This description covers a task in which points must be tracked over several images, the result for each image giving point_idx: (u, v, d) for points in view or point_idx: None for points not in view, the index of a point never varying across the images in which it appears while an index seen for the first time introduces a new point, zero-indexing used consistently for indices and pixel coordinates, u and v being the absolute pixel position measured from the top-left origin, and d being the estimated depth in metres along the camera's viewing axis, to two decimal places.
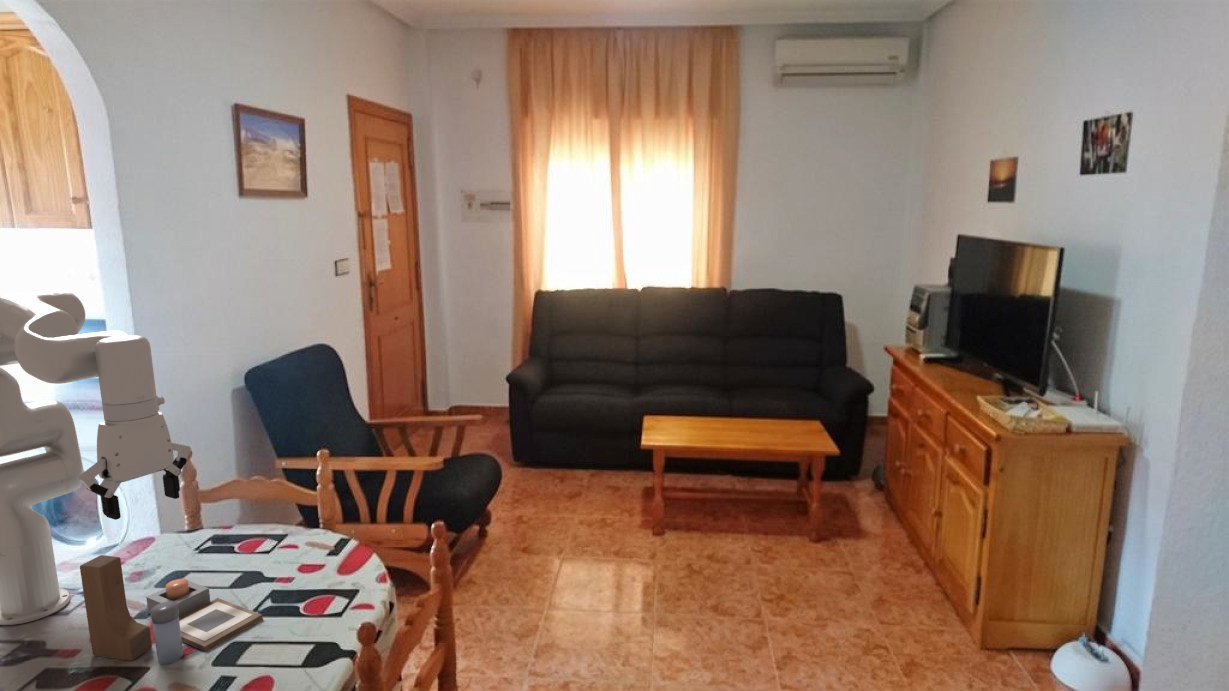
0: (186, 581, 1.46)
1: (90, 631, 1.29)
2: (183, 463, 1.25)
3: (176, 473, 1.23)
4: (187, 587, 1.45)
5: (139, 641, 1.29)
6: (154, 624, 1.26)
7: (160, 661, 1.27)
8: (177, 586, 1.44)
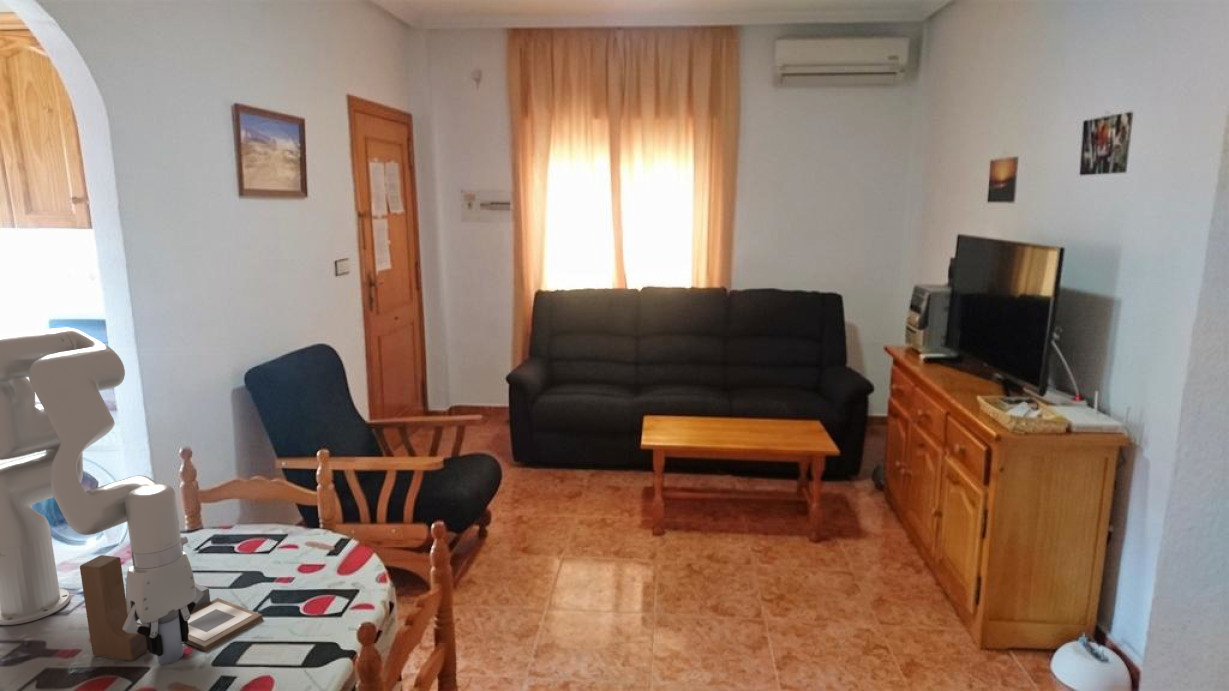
0: None
1: (90, 631, 1.29)
2: (192, 607, 1.31)
3: (185, 618, 1.30)
4: None
5: (139, 641, 1.29)
6: None
7: (160, 661, 1.27)
8: None
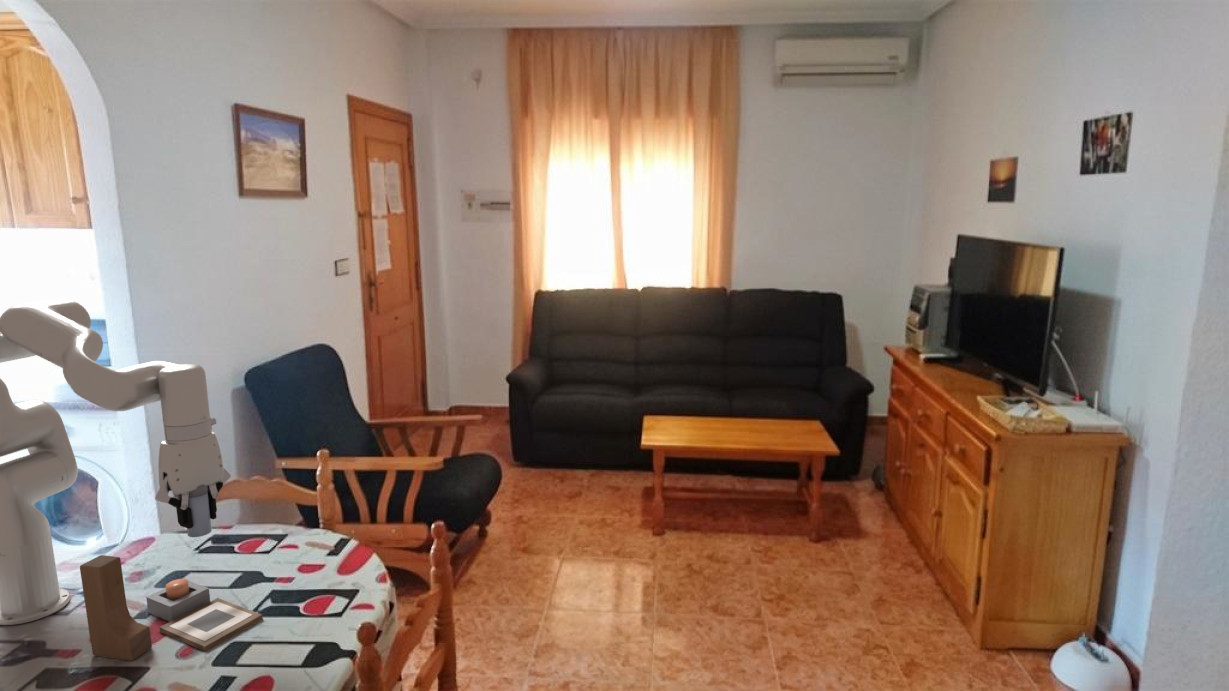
0: (186, 581, 1.46)
1: (90, 631, 1.29)
2: (220, 487, 1.38)
3: (214, 496, 1.36)
4: (187, 587, 1.45)
5: (139, 641, 1.29)
6: None
7: (190, 534, 1.34)
8: (177, 586, 1.44)
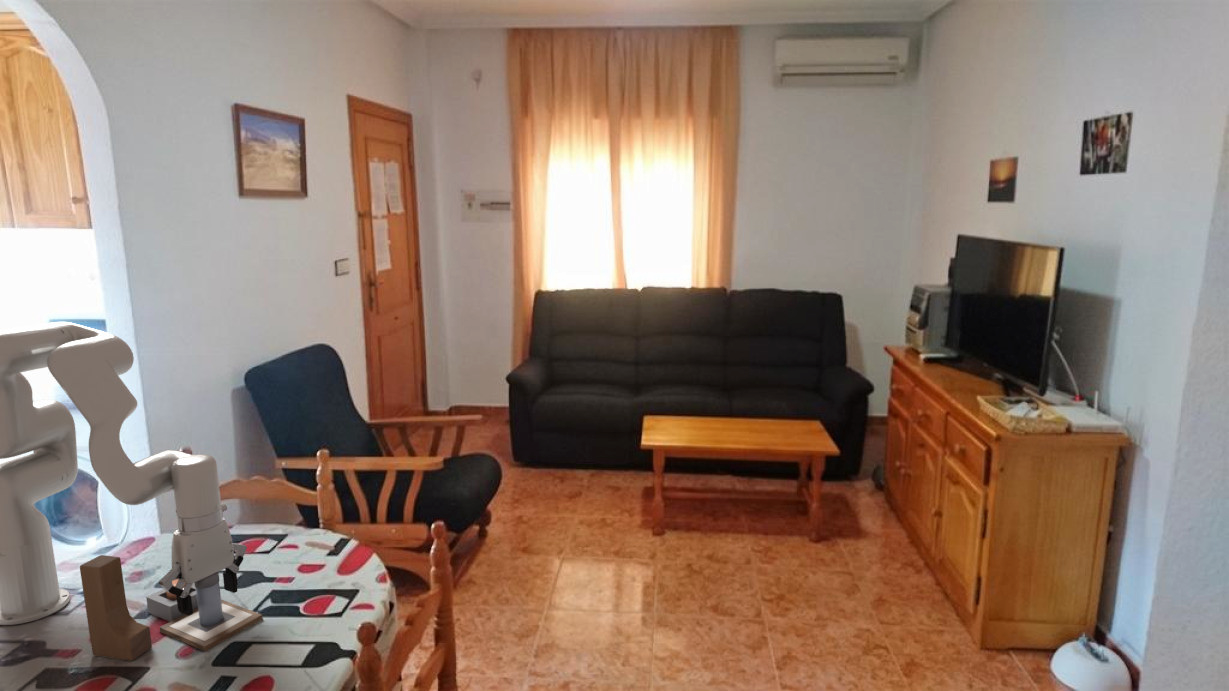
0: None
1: (90, 631, 1.29)
2: (240, 561, 1.43)
3: (235, 570, 1.42)
4: None
5: (139, 641, 1.29)
6: (197, 589, 1.36)
7: (202, 623, 1.37)
8: None
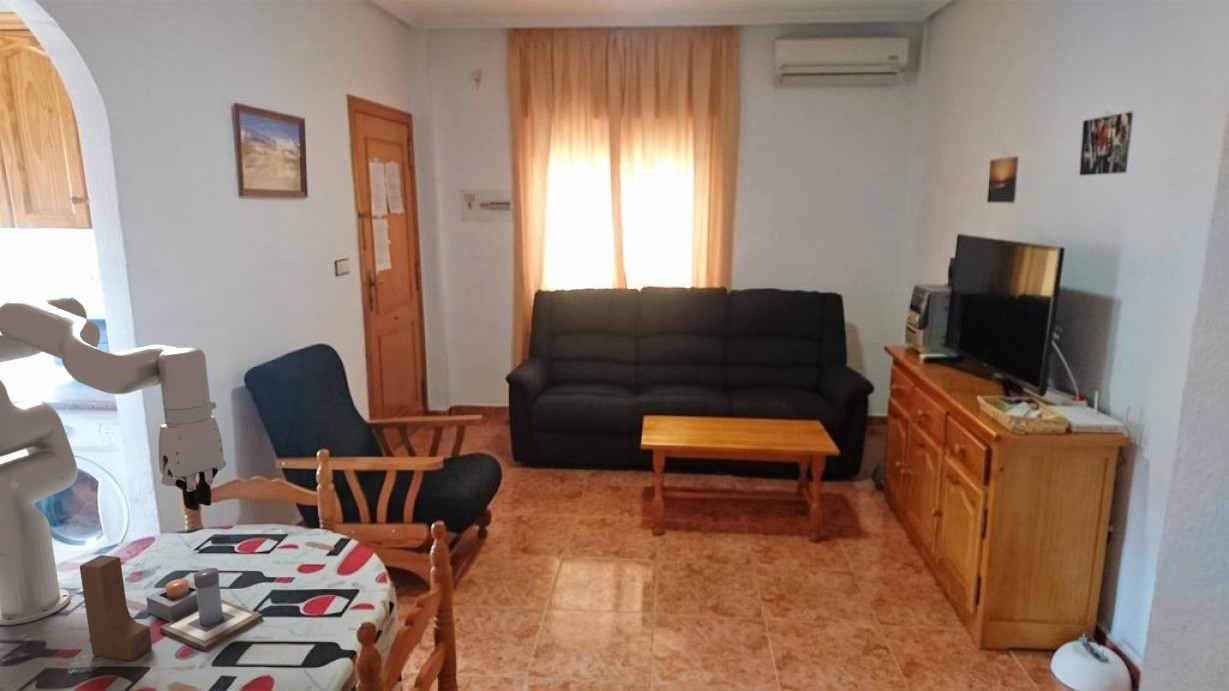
0: (186, 581, 1.46)
1: (90, 631, 1.29)
2: (214, 473, 1.37)
3: (208, 482, 1.35)
4: (187, 587, 1.45)
5: (139, 641, 1.29)
6: (197, 588, 1.36)
7: (202, 623, 1.37)
8: (177, 586, 1.44)
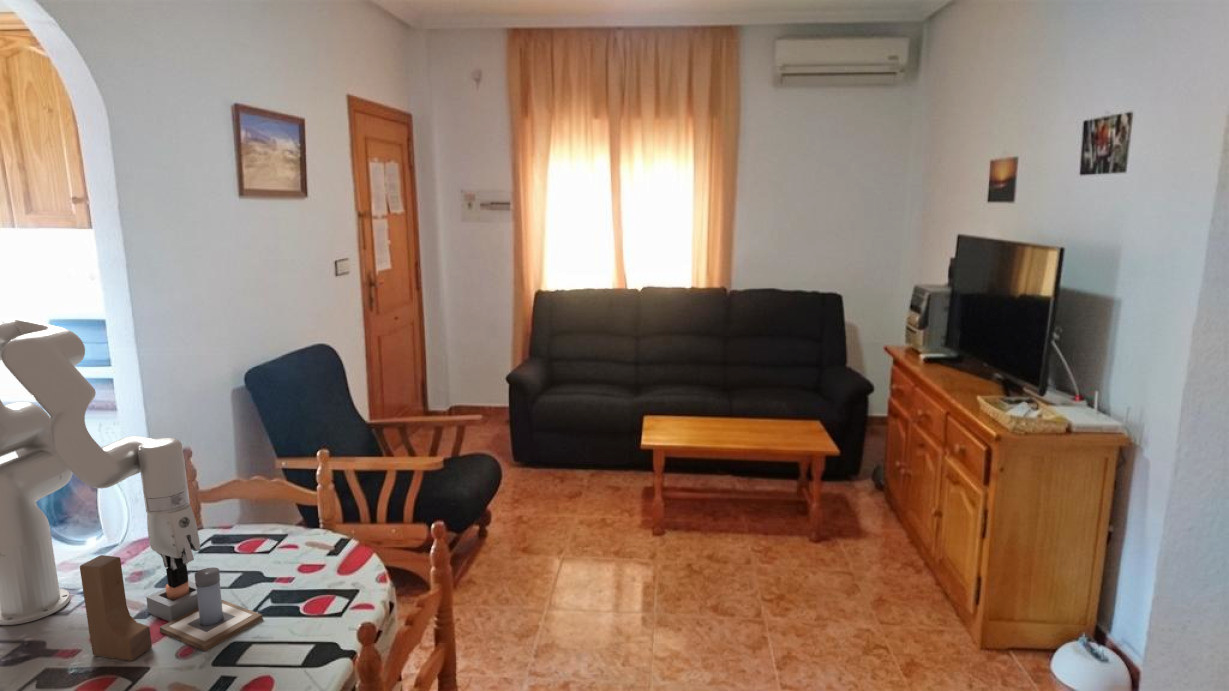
0: (186, 582, 1.46)
1: (90, 631, 1.29)
2: (178, 562, 1.42)
3: (172, 567, 1.43)
4: (187, 587, 1.45)
5: (139, 641, 1.29)
6: (198, 587, 1.36)
7: (202, 622, 1.37)
8: None
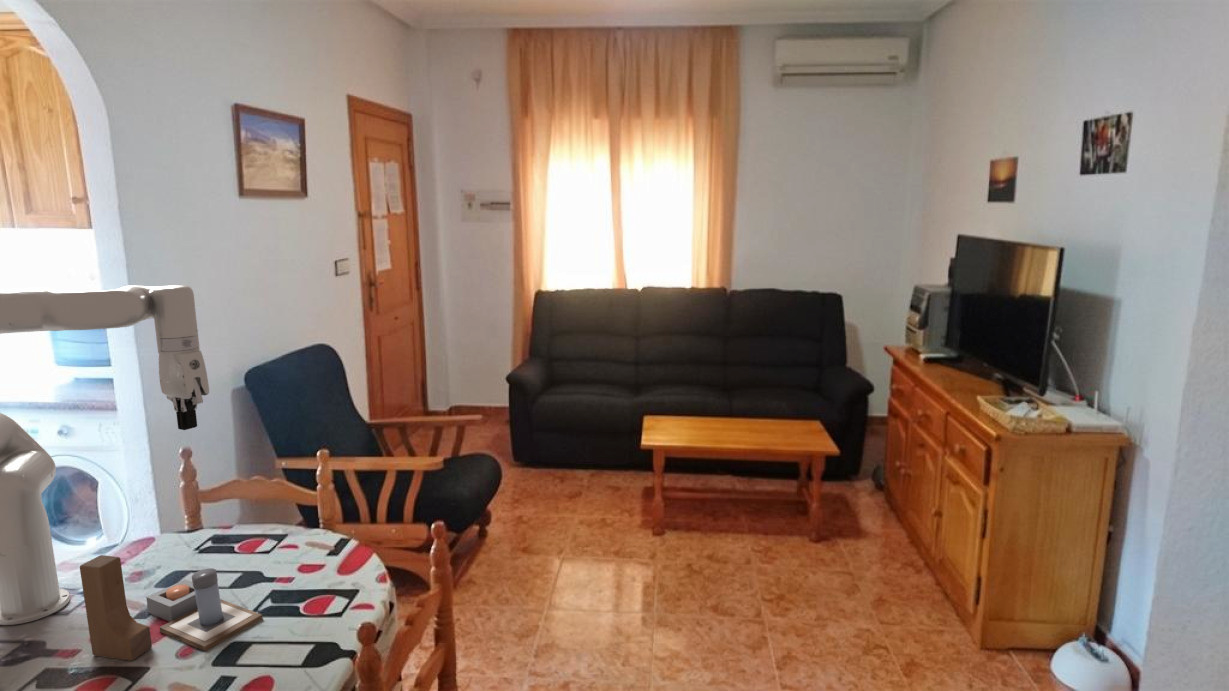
0: (187, 587, 1.46)
1: (90, 631, 1.29)
2: (188, 404, 1.48)
3: (182, 410, 1.49)
4: (187, 593, 1.45)
5: (139, 641, 1.29)
6: (195, 589, 1.36)
7: (201, 623, 1.37)
8: (177, 591, 1.44)
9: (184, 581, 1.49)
